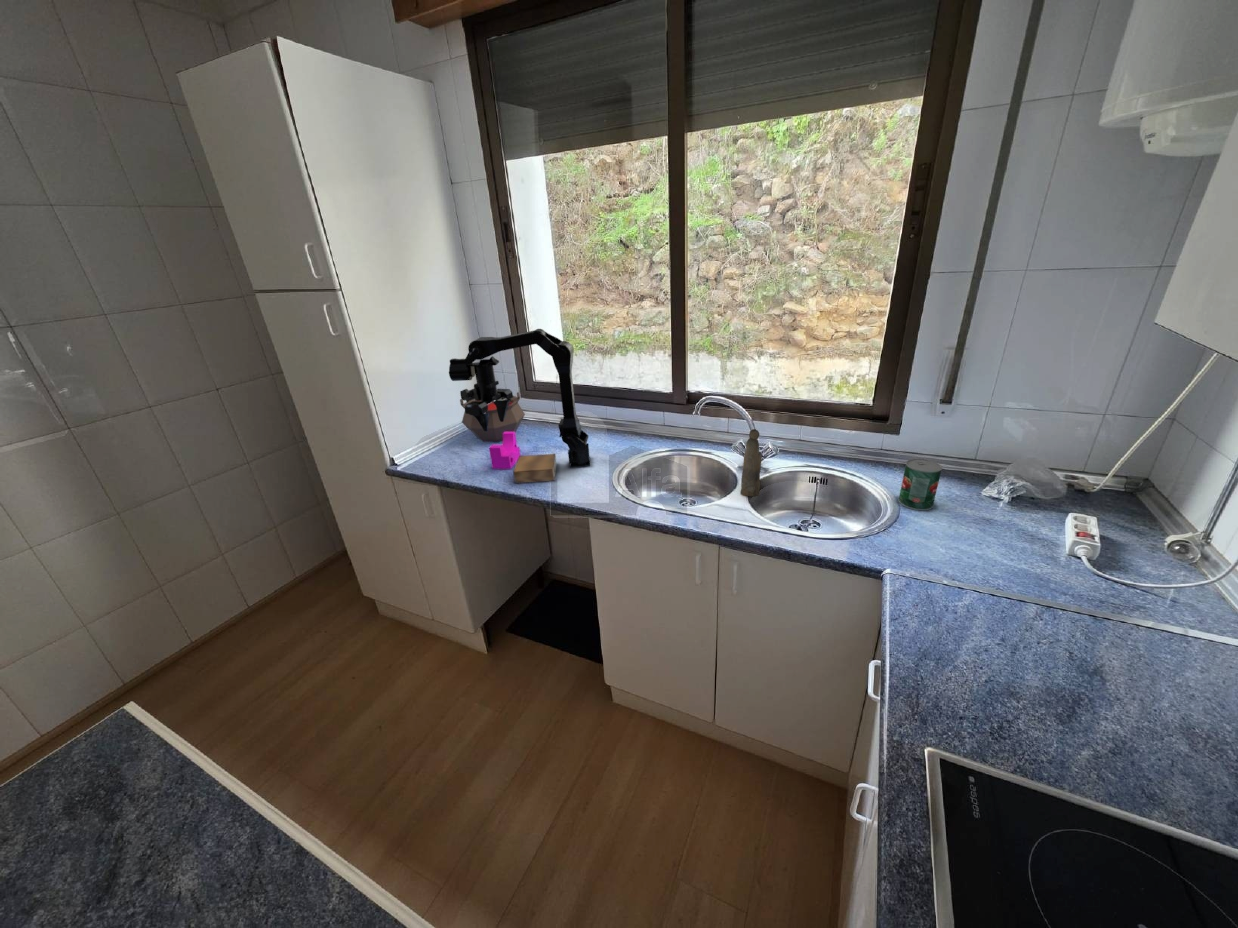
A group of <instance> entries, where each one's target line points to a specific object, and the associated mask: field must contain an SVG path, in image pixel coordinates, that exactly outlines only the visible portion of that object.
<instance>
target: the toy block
mask: <svg viewBox="0 0 1238 928" xmlns="http://www.w3.org/2000/svg"><path fill="white" fill-rule="evenodd" d="M520 450H521V449H520V446H518V442H517V436H516V432H504V433H503V440H502V443H501V444H491V445H490V446H489V448H488V451H489V454H490V456H489V457H490V461H491V467H492V469H493V470H511V469H512V468H513V467H514V466H515V465H516V463H517V461H518V458H519V456H521V451H520Z"/></svg>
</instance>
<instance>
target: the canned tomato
mask: <svg viewBox="0 0 1238 928" xmlns="http://www.w3.org/2000/svg"><path fill="white" fill-rule="evenodd" d="M942 470H943V466H942V465H941V464H940V463H938V462H936V461H934V460H931V459H927V458H926V459H925V458H910V459H908V460H907V461H906V462H905V466H904V471H903V475H902V482H901V487H900V492H899V496H898V503H899V504H900V505H901V506H903V507H905V508H907V509H911V510H914V511H929V510H931V509H933V508H934V503H935V499H936V494H937V491H938V487H939V483H940V479H941V474H942Z"/></svg>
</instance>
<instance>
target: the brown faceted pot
mask: <svg viewBox="0 0 1238 928" xmlns="http://www.w3.org/2000/svg"><path fill="white" fill-rule="evenodd" d="M520 399H521V395H520V392H519V391H517V392H516V395H513V398H511V401H510V403H509V406H508V409H507V412H506V415H505V418H504V421H503V422H500V420H499V416H498V412H497V408H496V405H495V404H494V403H491V404H489V405H488V410H487V411H488V412H489V422H488V431H487V432H485V431H484V430H483V429H482V427H481V425H480V423H479V422H478V420H477V419H476V418H475V417H474V416H473V415H469V414H466V413H465V411H464V412H463V417H462V420H461V423H462V424H463V425H464V426H465V427H466V428H467V429H468V430H469V431H470V432H471V433H472V434H473V435H474V436H476V438H478V439H479V440H480V441H482V442H484V443H497V442H503V433H504V432H515V433H516V432H517V430H518V428H519V426H520V424H521V422H522V421H523V419H524V417H525V415H526V413H525V412H524V410H523V409H522V406H520V404H519V401H520ZM472 401H476V400H475V399H473V400H470V401H469V402H466V401H465V402H464V400H462V399H461V398H460V399H459V402H460V406H461V407H462V408H463V409H464V410H465V408H464V407H465V406H466V404H468V403H470V402H472ZM476 402H481V400H479V401H476Z"/></svg>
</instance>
